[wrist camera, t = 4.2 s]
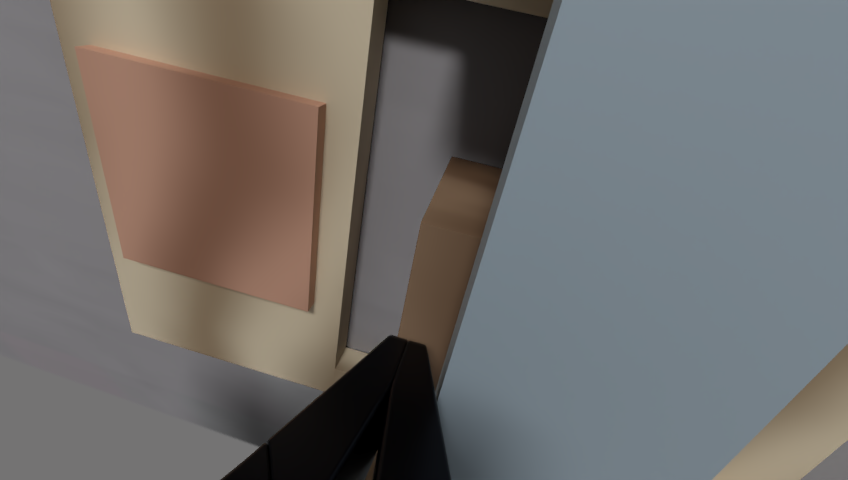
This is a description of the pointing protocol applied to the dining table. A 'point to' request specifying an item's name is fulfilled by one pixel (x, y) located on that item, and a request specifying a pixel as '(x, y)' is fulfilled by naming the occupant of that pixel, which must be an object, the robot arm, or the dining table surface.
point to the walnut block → (447, 256)
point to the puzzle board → (278, 187)
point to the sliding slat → (656, 243)
